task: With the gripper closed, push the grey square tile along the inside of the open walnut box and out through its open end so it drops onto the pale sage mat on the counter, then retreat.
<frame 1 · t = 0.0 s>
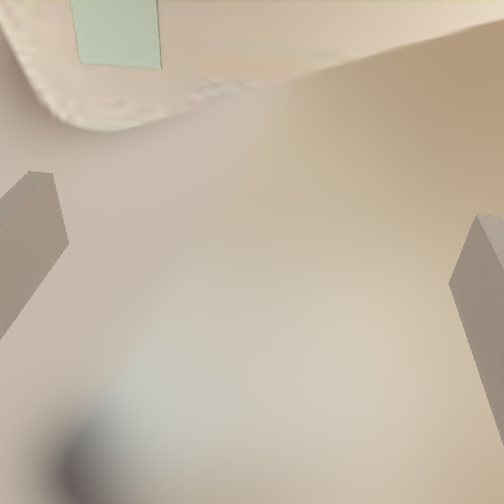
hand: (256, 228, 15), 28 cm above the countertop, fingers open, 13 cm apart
mat: (116, 20, 38), on the countertop
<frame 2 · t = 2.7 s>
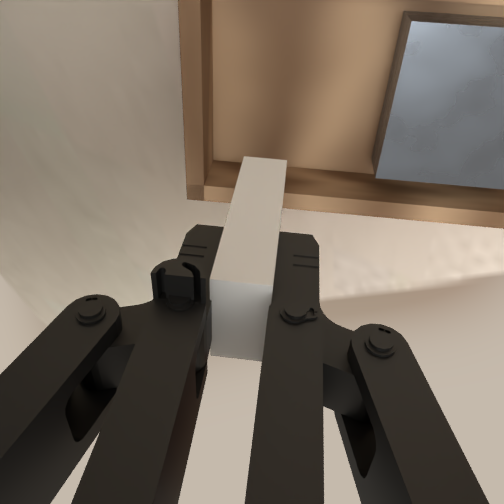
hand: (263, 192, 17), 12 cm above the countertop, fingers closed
box: (393, 87, 26), on the countertop
grey square tile: (460, 97, 25), point 1 cm above the countertop, touching box
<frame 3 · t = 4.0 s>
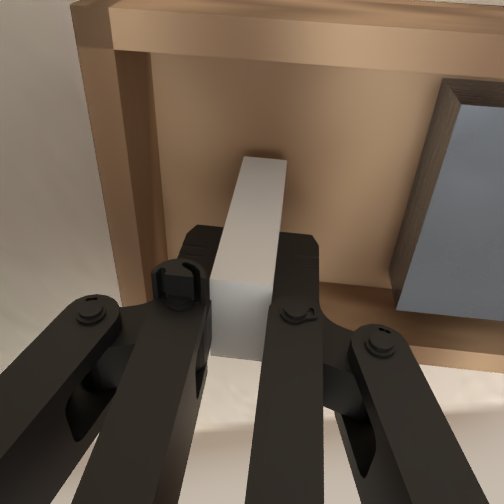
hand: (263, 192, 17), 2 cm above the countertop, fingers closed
box: (421, 178, 18), on the countertop
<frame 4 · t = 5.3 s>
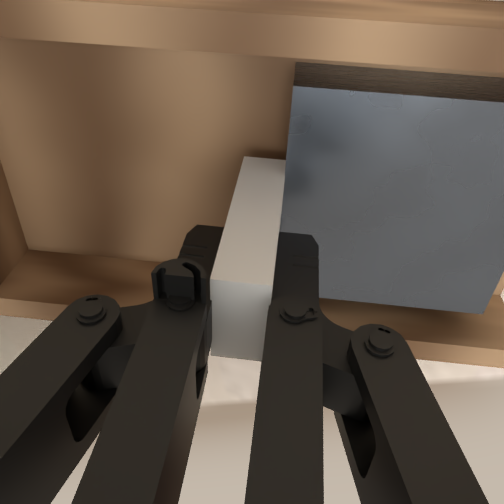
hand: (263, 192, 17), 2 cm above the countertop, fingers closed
box: (252, 159, 18), on the countertop
grey square tile: (392, 181, 18), point 1 cm above the countertop, touching gripper
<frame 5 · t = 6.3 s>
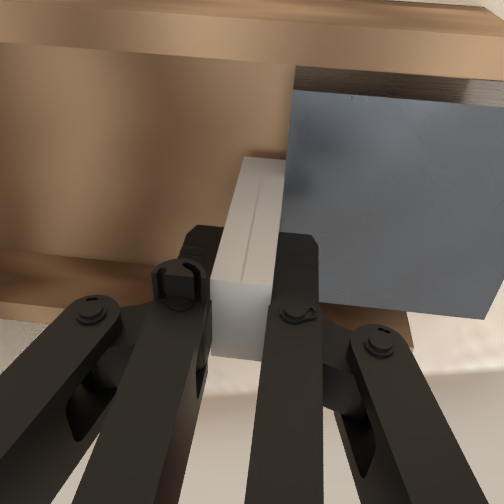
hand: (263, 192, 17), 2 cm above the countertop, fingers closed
box: (148, 155, 19), on the countertop
grey square tile: (392, 185, 17), point 1 cm above the countertop, touching box, gripper
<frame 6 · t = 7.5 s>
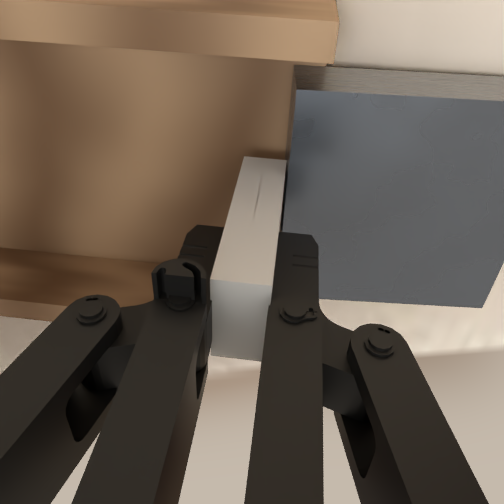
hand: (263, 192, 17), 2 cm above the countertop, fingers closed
box: (38, 143, 19), on the countertop
grey square tile: (389, 180, 18), point 1 cm above the countertop, touching box
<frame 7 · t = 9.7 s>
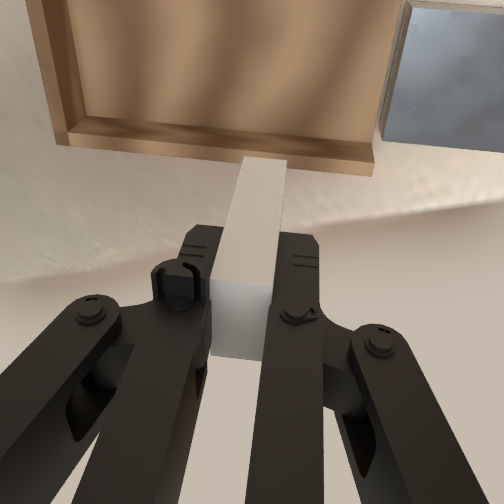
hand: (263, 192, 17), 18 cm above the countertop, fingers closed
box: (221, 53, 32), on the countertop
grey square tile: (454, 74, 31), resting on mat
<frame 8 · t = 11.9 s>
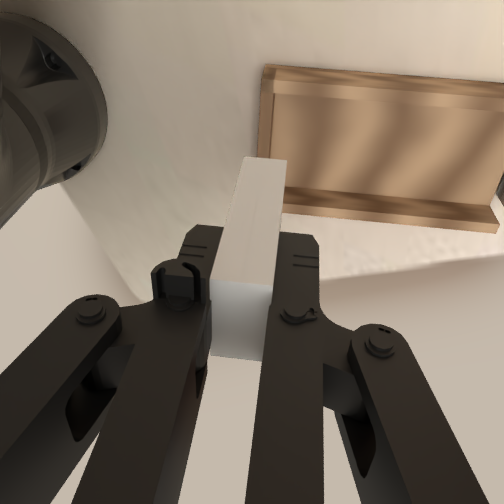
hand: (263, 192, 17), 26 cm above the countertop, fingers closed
box: (382, 142, 43), on the countertop
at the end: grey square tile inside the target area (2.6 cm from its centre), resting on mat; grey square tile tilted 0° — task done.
